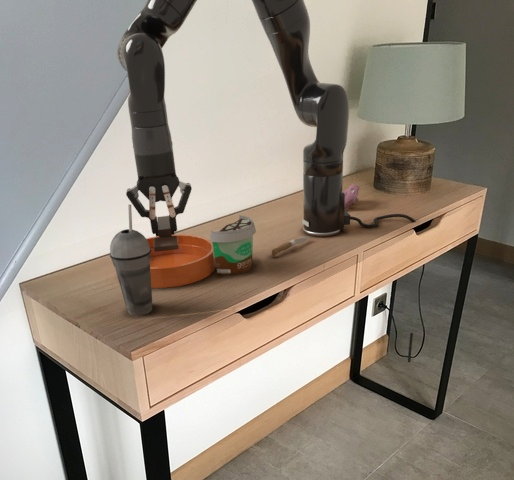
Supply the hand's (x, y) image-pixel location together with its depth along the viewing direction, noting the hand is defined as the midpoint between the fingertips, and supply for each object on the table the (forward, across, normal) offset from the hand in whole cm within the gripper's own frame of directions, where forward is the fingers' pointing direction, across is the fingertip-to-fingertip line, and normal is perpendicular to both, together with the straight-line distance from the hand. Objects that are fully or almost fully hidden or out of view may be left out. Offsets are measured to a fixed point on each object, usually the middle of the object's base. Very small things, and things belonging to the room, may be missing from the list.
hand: (165, 234), depth 121 cm
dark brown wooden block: (+1, 0, 0) cm, 1 cm away
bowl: (+8, 0, 0) cm, 8 cm away
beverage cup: (+8, -6, -19) cm, 22 cm away
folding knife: (+8, +28, +5) cm, 29 cm away
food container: (+8, +15, -5) cm, 18 cm away
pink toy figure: (+9, +50, +33) cm, 60 cm away
